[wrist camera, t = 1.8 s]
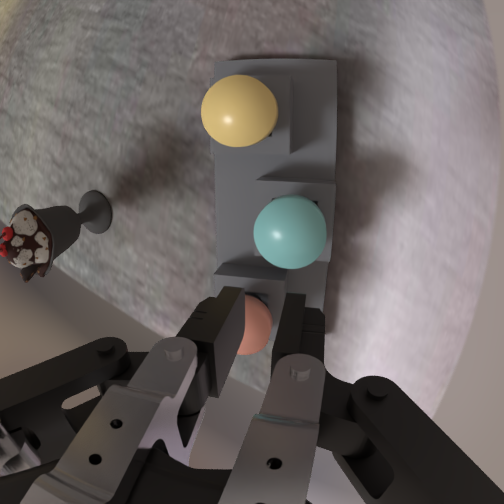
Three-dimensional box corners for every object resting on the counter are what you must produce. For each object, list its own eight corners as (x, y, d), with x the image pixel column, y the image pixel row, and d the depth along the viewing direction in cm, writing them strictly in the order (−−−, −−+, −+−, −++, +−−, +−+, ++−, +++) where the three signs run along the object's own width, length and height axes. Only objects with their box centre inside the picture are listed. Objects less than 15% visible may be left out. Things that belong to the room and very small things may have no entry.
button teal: (264, 187, 24) (253, 196, 20) (327, 190, 23) (329, 201, 19) (263, 246, 26) (253, 265, 22) (323, 250, 25) (323, 271, 21)
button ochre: (220, 86, 22) (201, 77, 18) (282, 84, 21) (275, 73, 17) (220, 145, 23) (201, 147, 20) (282, 146, 22) (274, 147, 19)
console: (219, 65, 24) (204, 55, 20) (335, 64, 22) (338, 52, 18) (224, 326, 33) (213, 348, 30) (318, 336, 31) (316, 360, 28)
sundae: (85, 171, 30) (-25, 204, 17) (126, 206, 31) (17, 258, 17) (68, 217, 33) (-30, 263, 19) (104, 251, 33) (10, 314, 20)
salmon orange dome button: (223, 277, 27) (207, 300, 24) (278, 283, 26) (270, 307, 23) (224, 323, 29) (211, 349, 25) (275, 330, 28) (268, 358, 24)
